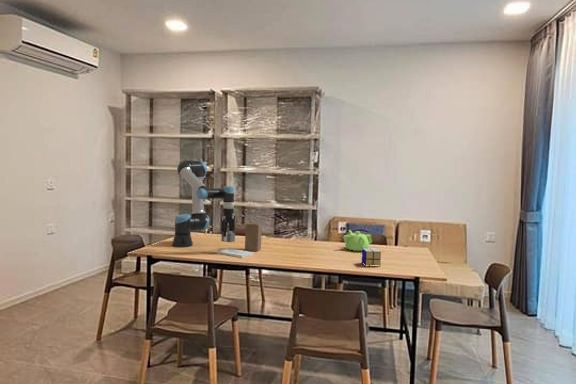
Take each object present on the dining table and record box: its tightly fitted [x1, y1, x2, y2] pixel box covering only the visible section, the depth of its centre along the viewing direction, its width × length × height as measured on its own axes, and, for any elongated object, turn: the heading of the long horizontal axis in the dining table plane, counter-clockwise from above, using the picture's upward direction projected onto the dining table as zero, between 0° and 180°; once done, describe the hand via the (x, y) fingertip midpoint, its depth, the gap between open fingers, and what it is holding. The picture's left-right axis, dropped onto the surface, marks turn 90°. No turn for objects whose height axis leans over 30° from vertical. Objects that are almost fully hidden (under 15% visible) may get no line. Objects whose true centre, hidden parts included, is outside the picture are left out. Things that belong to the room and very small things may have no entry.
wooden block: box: [244, 221, 263, 253], centre depth 319 cm, size 10×10×20 cm
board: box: [216, 247, 255, 258], centre depth 305 cm, size 22×14×2 cm, turn 60°
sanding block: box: [220, 231, 236, 243], centre depth 307 cm, size 8×5×6 cm, turn 59°
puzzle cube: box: [361, 248, 382, 266], centre depth 286 cm, size 10×10×10 cm
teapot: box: [342, 229, 373, 252], centre depth 335 cm, size 19×20×14 cm
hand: (227, 240), depth 307 cm, fingers closed on sanding block, 5 cm apart
